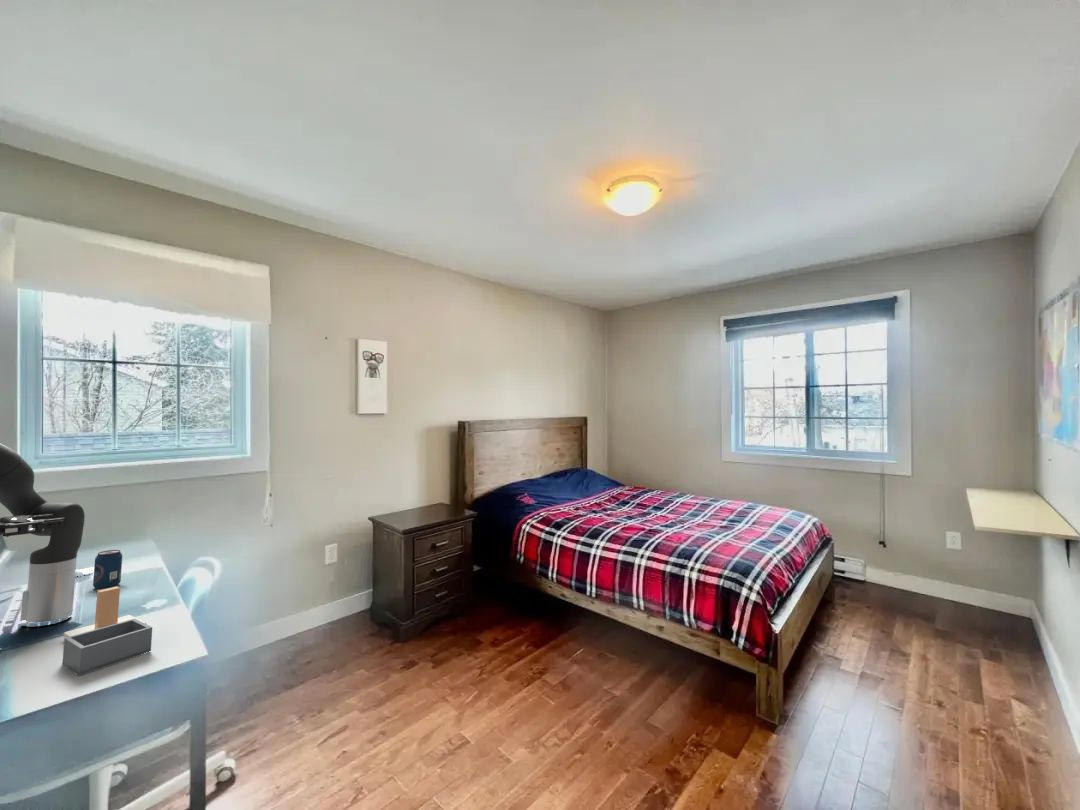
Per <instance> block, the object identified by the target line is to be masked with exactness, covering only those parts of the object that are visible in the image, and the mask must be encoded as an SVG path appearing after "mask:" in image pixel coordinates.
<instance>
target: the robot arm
mask: <svg viewBox="0 0 1080 810" xmlns="http://www.w3.org/2000/svg"><path fill="white" fill-rule="evenodd" d="M34 483H35V472H34V470H33V468H32V466H31V465H30V464H29V463H28V462H27V461H26V460H25V459H24V458H23V457H22V456H21V455H20V454H19V453H17V452H16V451H15V450H13V449H12V448H11V447H10V446H6V445H4V444H3V443H1V442H0V504H1V505H3V507H4V508H6V509H7V510H8V511H9V512H10V514H11V515H12V516H3V517H0V536H2V537H7V538H8V537H12V536H13V537H14V536H19V535H22V536H23V535H28V534H29V535H30V534H31V535H33V536H38V537H39V536H40V537H49V542H48V545H47V546H45V547H42V548H39V549H36V550H34V551H32V552H31V553H30V556H29V566H28V567H29V568H28V578H27V580H28V581H27V590H24V591H23V592H22V595H21V596H22V597H21V598H22V599H21V608H20V609H21V610H20V621H22V620H26V621H29V622H44V621H53V620H58V619H62V618H66V617H68V616H71V615H72V616H73V611H74V597H75V587H76V586H75V583H76V578H75V572H76V570H77V557H78V551H79V549H80V547H81V545H82V540H83V539H82V538H83V531H84V527H85V518H86V517H85V516H86V515H85V510H84V508H83V506H81V505H80V504H78V503H73V502H49V501H47V500H45V499H44V498H43V497H41V496H40V495H39V493H37V492H36V490H35V489H34V486H35V485H34ZM20 621H19V622H20Z"/></svg>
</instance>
